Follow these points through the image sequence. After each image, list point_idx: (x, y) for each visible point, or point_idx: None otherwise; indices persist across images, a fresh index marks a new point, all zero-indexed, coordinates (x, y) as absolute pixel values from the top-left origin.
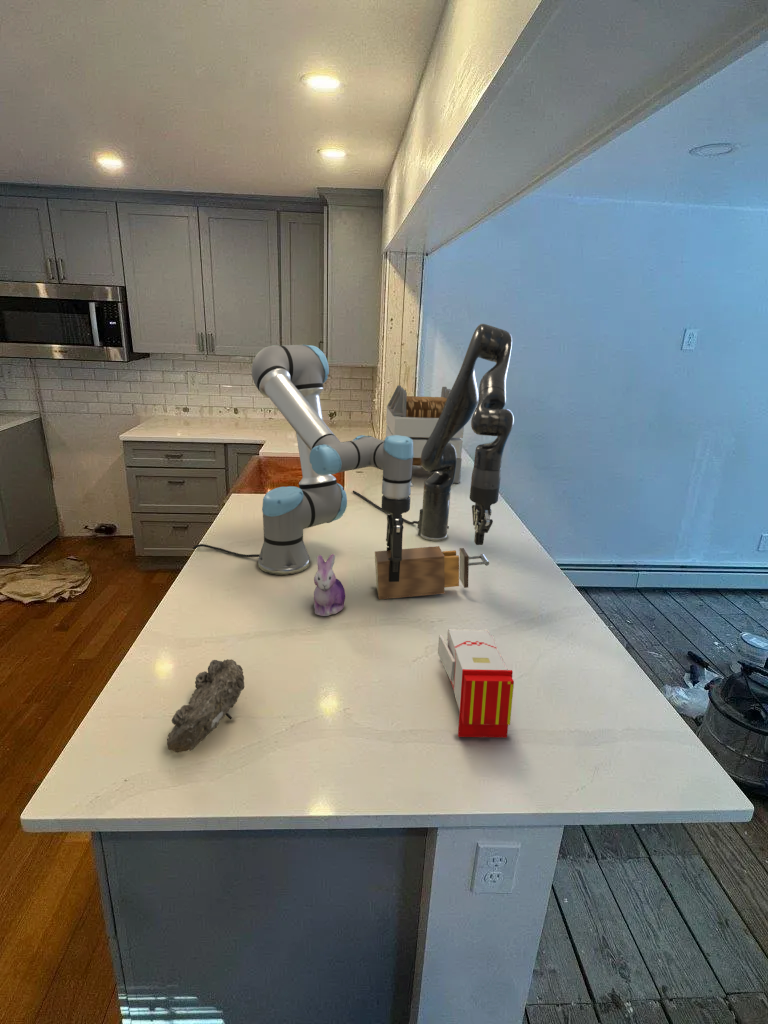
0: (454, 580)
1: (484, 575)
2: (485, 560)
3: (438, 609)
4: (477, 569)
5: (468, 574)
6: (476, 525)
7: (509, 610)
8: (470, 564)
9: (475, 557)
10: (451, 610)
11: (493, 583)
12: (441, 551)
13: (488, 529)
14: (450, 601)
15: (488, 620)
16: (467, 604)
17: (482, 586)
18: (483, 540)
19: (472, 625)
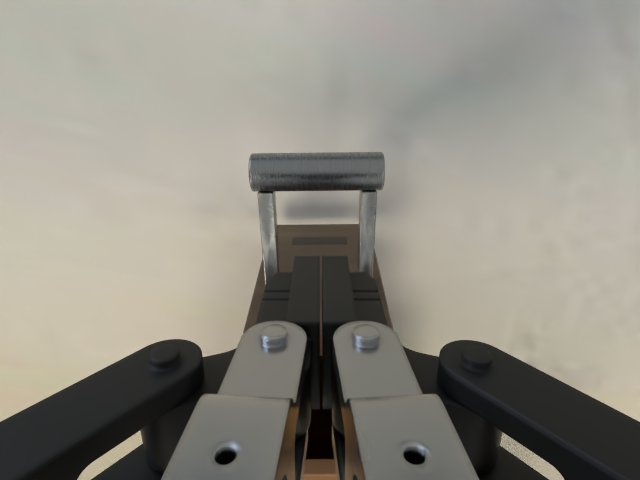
0: None
1: (130, 62)
2: (367, 183)
3: (450, 334)
4: (60, 82)
5: (375, 257)
6: (302, 474)
7: (508, 39)
8: (372, 276)
9: (275, 224)
10: (465, 292)
11: (222, 36)
12: (327, 476)
13: (592, 411)
14: (395, 282)
15: (570, 168)
16: (426, 222)
17: (259, 108)
18: (349, 273)
19: (589, 241)
